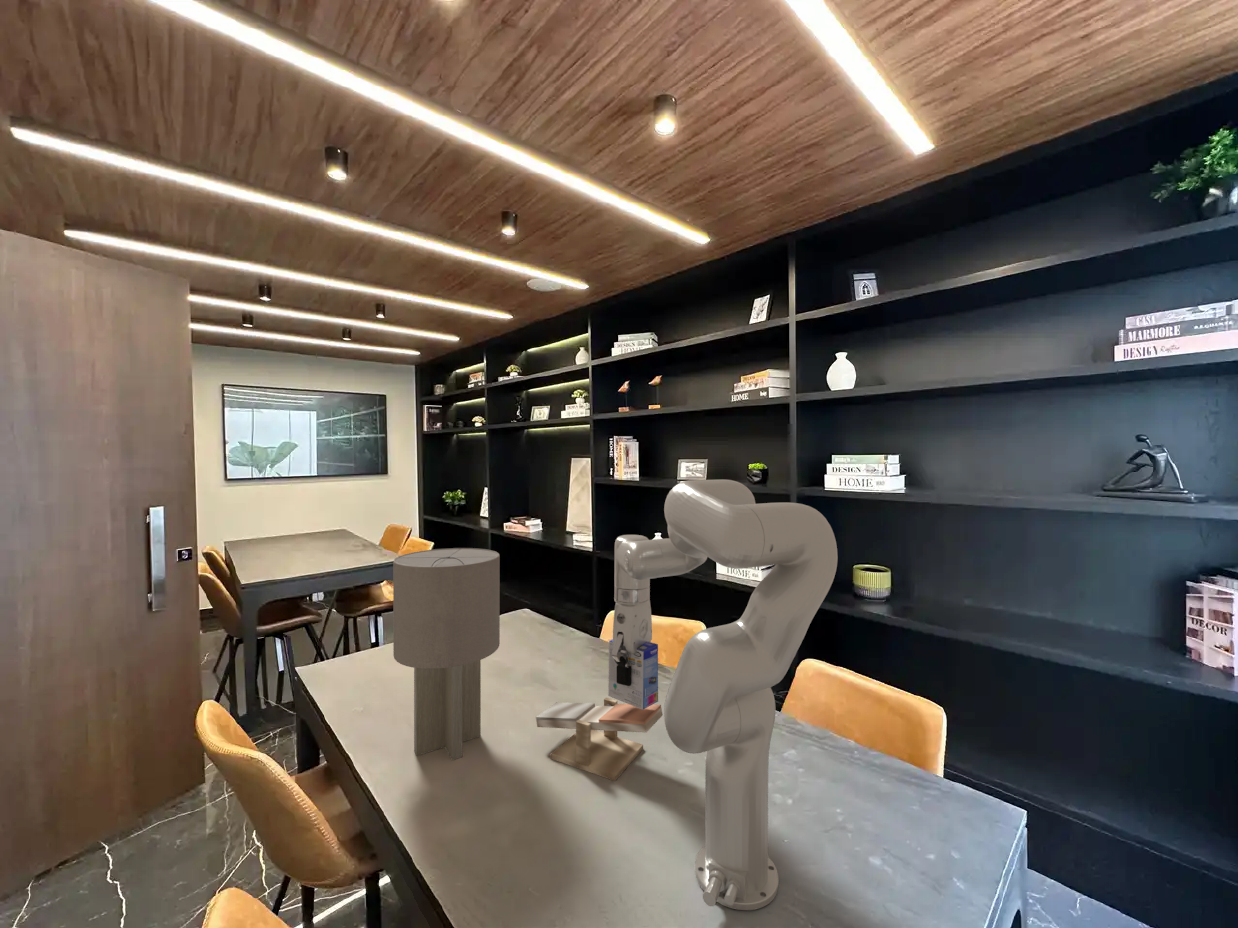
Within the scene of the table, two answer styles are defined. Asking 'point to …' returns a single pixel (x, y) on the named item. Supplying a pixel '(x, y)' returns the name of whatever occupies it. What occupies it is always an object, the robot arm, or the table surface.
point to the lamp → (446, 639)
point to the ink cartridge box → (636, 677)
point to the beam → (600, 716)
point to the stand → (597, 750)
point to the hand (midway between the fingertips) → (631, 677)
